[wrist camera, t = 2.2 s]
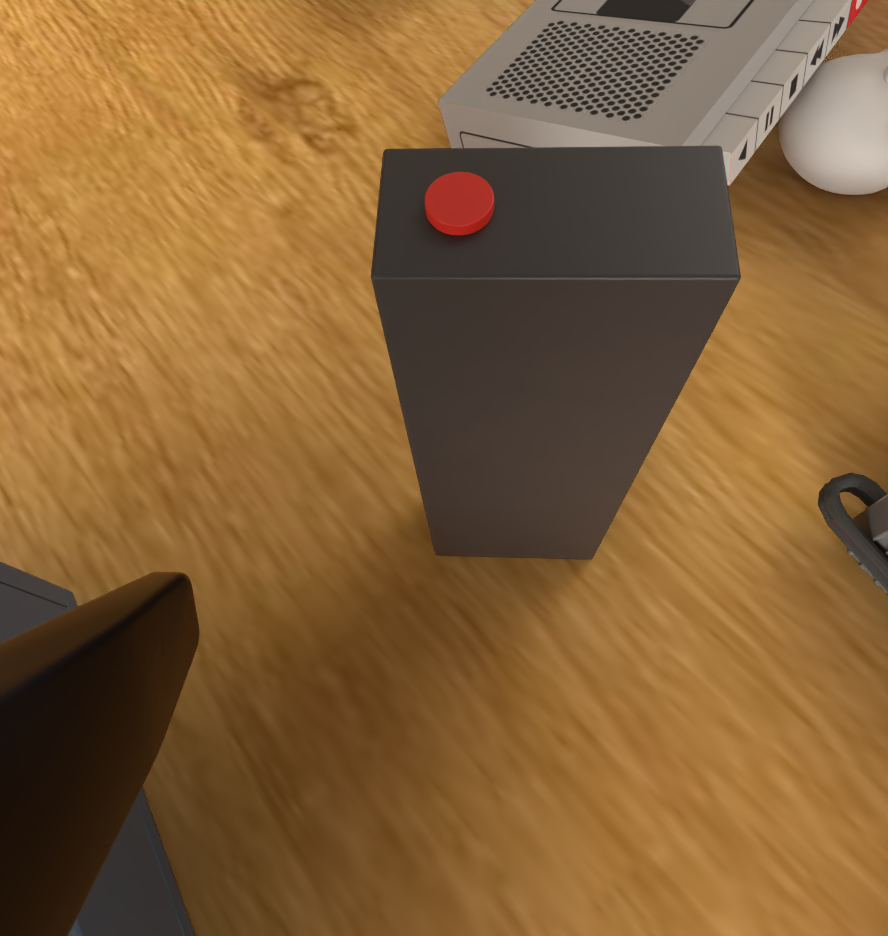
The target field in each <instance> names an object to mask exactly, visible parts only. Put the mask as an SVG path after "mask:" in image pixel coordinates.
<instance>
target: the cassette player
mask: <svg viewBox="0 0 888 936" xmlns="http://www.w3.org/2000/svg"><path fill="white" fill-rule="evenodd" d="M866 2H867V0H535V1H534V2H533V3H532V4H531V5H530V6H529V7H528V8H527V10H526V11H525V12H524V13H523V14H522V15H521V16H520V17H519V18H518V19H517V20H516V21H515V22H514V23H513V24H512V25H511V26H510V27H509V28H508V29H507V30H506V31H505V32H504V33H503V34H502V35H501V36H500V37H499V38H498V39H497V40H496V41H495V42H494V43H493V44H492V45H491V46H490V47H489V48H488V49H487V50H486V51H485V53H484V54H483V55H482V56H481V57H480V58H479V59H478V60H477V61H476V62H475V63H474V64H473V65H472V66H471V67H470V68H469V69H468V70H467V71H466V72H465V73H464V74H463V75H462V76H461V77H460V78H459V79H458V80H457V81H456V82H455V83H454V84H453V85H452V86H451V87H450V88H449V89H448V90H447V91H446V92H445V93H444V95H443V96H442V97H441V98H440V99H439V100H438V104H439V107H440V111H441V114H442V118H443V121H444V125H445V128H446V132H447V135H448V138H449V142H450V145H451V148H531V147H629V146H721V147H722V151H723V158H724V165H725V171H726V178H727V185H731V183H732V182H733V181H734V179H735V178H736V177H737V175H738V174H739V173H740V171H741V170H742V169H743V167H744V166H745V165H746V163H747V162H748V161H749V159H750V158H751V157H752V155H753V154H754V153H755V151H756V150H757V148H758V147H759V146H760V144H761V143H762V142H763V140H764V139H765V138H766V136H767V135H768V134H769V132H770V131H771V130H772V128H773V127H774V126H775V124H776V123H777V122H778V120H779V119H780V118H781V116H782V115H783V114H784V112H785V111H786V110H787V108H788V107H789V106H790V104H791V103H792V102H793V100H794V99H795V98H796V96H797V95H798V94H799V92H800V91H801V89H802V88H803V87H804V85H805V84H806V83H807V81H808V80H809V79H810V77H811V76H812V75H813V73H814V72H815V71H816V69H817V68H818V67H819V65H820V64H821V63H822V61H823V60H824V59H825V57H826V56H827V55H828V53H829V52H830V51H831V49H832V48H833V47H834V45H835V44H836V43H837V41H838V40H839V39H840V37H841V36H842V35H843V33H844V32H845V30H846V29H847V28H848V26H849V25H850V24H851V22H852V21H853V20H854V18H855V17H856V16H857V14H858V13H859V12H860V10H861V9H862V8H863V6H864V5H865V4H866Z"/></svg>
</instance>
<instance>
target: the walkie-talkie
mask: <svg viewBox="0 0 888 936" xmlns="http://www.w3.org/2000/svg"><path fill="white" fill-rule="evenodd" d="M841 492H850V493H852V494H853V495H855V496H857V497H859V498H860V499H861V500H862V501H863V502H864V503H865V504H866V505H867V506H868V508H866V510H865V511H864V512H862V513H861V514H859V515H858V516H856V517H855V518H853V519H852V518H851V517H850V516H849V515H848V514H847V512H846V510H845V509H844V507H843V505H842V503H841V501H840V495H839V493H841ZM818 506H819V508H820V510H821V512H822V514H823V516H824V519H825V521H826V523H827V525H828V526H829V527H830V528H831V529H832V531H833V532H834V533H835V534H836V535H837V536H838V537H839V538H840V539H841V541H842V542H843V543H844V544H845V545H846V546H847V553H848V554H849V555H852V556H853V557H854V559H855V560H856V561H857V562H858V563H859V566H860V568H861V569H862V570H863V571H866V572H867V573H868V574H869V575H870V576H871V578H872V579H873V582H874V583H875V584H876V585H877V587H880V588H881V589H882V590H883V591H884V592H885V593H886V594H887V595H888V494H887V493H886V492H885V491H884V490H883V489H882V488H881V487H880V486H879V485H878V484H877V483H876V482H874V481H872V480H871V479H869V478H867V477H866V476H864V475H859V474H854V473H848V474H845V475H842V476H839V477H836V478H833V479H831V481H830V482H829V483H827V484H825V485H824V487H823V488H822V489H821V490H820V492H819V498H818Z"/></svg>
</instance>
